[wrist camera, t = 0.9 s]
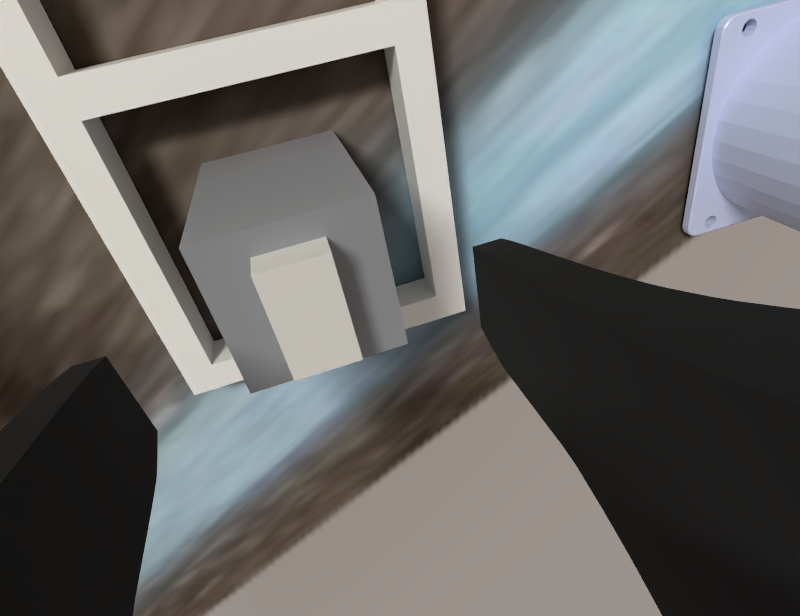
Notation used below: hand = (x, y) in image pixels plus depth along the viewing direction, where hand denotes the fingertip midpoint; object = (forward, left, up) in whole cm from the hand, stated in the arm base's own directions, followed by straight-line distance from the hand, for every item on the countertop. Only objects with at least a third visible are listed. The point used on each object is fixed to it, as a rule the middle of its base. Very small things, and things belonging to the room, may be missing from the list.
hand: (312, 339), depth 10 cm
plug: (0, 0, -7) cm, 7 cm away
